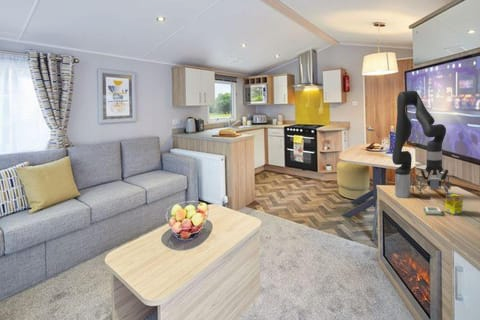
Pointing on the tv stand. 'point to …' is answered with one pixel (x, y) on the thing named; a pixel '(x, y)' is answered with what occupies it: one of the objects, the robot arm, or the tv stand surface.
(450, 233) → the tv stand surface
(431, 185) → the plug
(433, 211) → the socket board
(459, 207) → the supplement box
